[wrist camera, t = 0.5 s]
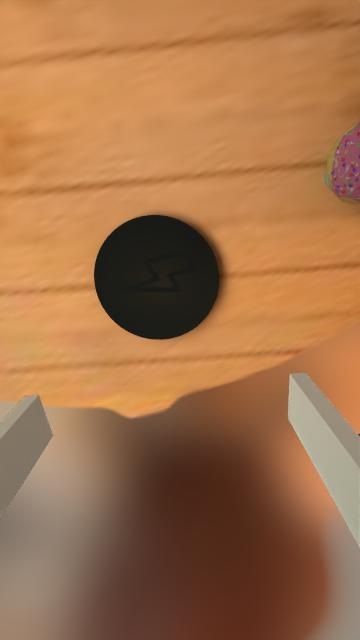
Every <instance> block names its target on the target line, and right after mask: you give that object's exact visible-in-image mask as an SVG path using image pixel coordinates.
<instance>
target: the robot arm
mask: <svg viewBox="0 0 360 640" xmlns="http://www.w3.org/2000/svg"><path fill="white" fill-rule="evenodd" d="M288 419H289V421H290V423H291V424H292V426H293V428H294V430H295V432H296V433H297V435H298V437H299V439H300V441H301V442H302V444H303V446H304V448H305V450H306V451H307V453H308V455H309V457H310V458H311V460H312V462H313V464H314V466H315V468H316V469H317V471H318V473H319V475H320V477H321V478H322V480H323V482H324V484H325V486H326V487H327V489H328V491H329V493H330V495H331V496H332V498H333V500H334V502H335V504H336V505H337V507H338V509H339V510H340V513H341V515H342V516H343V518H344V520H345V522H346V524H347V525H348V527H349V529H350V531H351V532H352V534H353V536H354V538H355V540H356V542H357V543H358V545H359V547H360V434H357V433H356V432H355V430H354V429H353V428H352V427H351V426H350V425H349V423H348V422H347V421H346V420H345V419H344V418H343V416H342V415H341V414H340V413H339V412H338V410H337V409H336V408H335V407H334V406H333V405H332V403H331V402H330V401H329V400H328V399H327V398H326V396H325V395H324V394H323V393H322V392H321V391H320V389H319V388H318V387H317V386H316V385H315V384H314V382H313V381H312V380H311V379H310V378H309V377H308V375H307V374H306V373H295V374H290V383H289V404H288ZM52 436H53V434H52V431H51V428H50V426H49V423H48V420H47V418H46V415H45V411H44V408H43V406H42V403H41V400H40V397H39V395H32V396H24V397H23V399H22V400H21V401H20V402H19V403H18V404H17V405H16V406H15V407H14V408H13V409H12V410H11V411H10V412H9V413H8V414H7V416H5V418H4V419H3V420H2V421H1V422H0V519H1V517H2V515H3V514H4V513H5V511H6V509H7V508H8V506H9V505H10V503H11V501H12V500H13V498H14V497H15V495H16V493H17V492H18V490H19V489H20V487H21V486H22V484H23V482H24V481H25V479H26V478H27V476H28V474H29V473H30V471H31V470H32V468H33V467H34V465H35V463H36V462H37V460H38V459H39V457H40V455H41V454H42V452H43V450H44V449H45V447H46V446H47V444H48V443H49V441H50V439H51V438H52Z"/></svg>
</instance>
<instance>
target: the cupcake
mask: <svg viewBox="0 0 360 640" xmlns="http://www.w3.org/2000/svg"><path fill="white" fill-rule="evenodd" d="M325 180H326V183H327V185H328V187H329V188H330V189H331V190H332V191H333V192H334V193H335V194H336V195H337V196H338V197H339V198H340V199H341V200H342V201H344V202H349V203H353V204H360V120H359V121H358V122H356V123H355V124H354V125H353V126H351V127H350V128H349V129H348V130H347V131H346V132H345V133H344V134H343V135H342V136H341V137H340V138H339V139H338V140H337V142H336V143H335V145H334V146H333V148H332V150H331V151H330V154H329V156H328V161H327V166H326V170H325Z"/></svg>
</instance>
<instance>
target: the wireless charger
mask: <svg viewBox="0 0 360 640" xmlns="http://www.w3.org/2000/svg"><path fill="white" fill-rule="evenodd" d="M94 281H95V288H96V292H97V295H98V298H99V300H100V303H101V305H102V307H103V308H104V310H105V311H106V313H107V314H108V315H109V316H110V318H111V319H112V320H113V321H114V322H115V323H116V324H118V325H119V326H120V327H122V328H123V329H125V330H126V331H128V332H130V333H132V334H134V335H137V336H140V337H143V338H148V339H170V338H174V337H178V336H181V335H183V334H185V333H187V332H189V331H191V330H192V329H194V328H195V327H197V326H198V325H199V324H200V323H201V322H202V321H203V320H204V319H205V318H206V317H207V315H208V314H209V312H210V311H211V309H212V307H213V305H214V303H215V300H216V297H217V294H218V288H219V270H218V265H217V261H216V258H215V256H214V253H213V251H212V249H211V247H210V246H209V244H208V243H207V241H206V240H205V239H204V238H203V237H202V235H201V234H200V233H198V232H197V231H196V230H195V229H194V228H192V227H191V226H189V225H188V224H186V223H184V222H182V221H180V220H178V219H175V218H172V217H168V216H161V215H147V216H141V217H137V218H134V219H132V220H129V221H127V222H125V223H124V224H122V225H120V226H119V227H118V228H116V229H115V230H114V231H113V232H112V233H111V234H110V235H109V236H108V237H107V239H106V240H105V241H104V243H103V245H102V246H101V248H100V250H99V253H98V255H97V259H96V263H95V269H94Z"/></svg>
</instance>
